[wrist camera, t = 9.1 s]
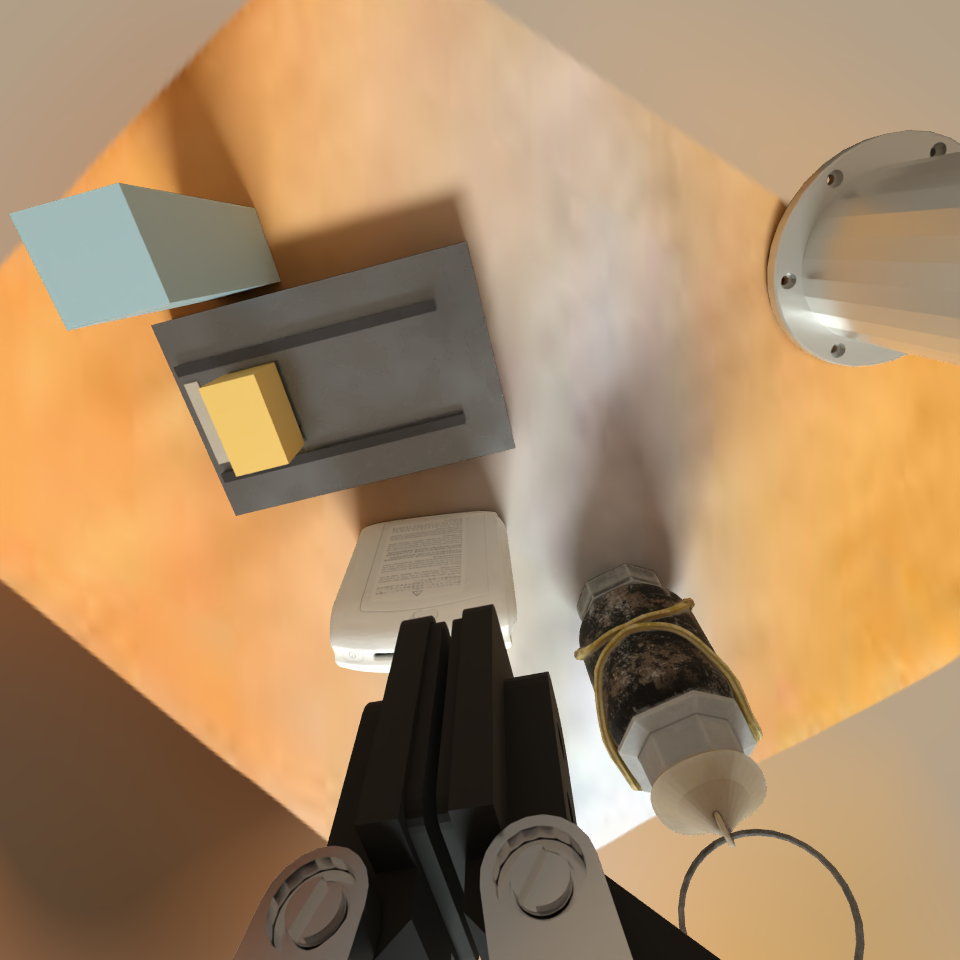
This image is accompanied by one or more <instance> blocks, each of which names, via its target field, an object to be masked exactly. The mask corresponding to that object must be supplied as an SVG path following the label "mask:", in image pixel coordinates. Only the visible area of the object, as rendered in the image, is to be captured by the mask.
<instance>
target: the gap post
mask: <svg viewBox="0 0 960 960" xmlns="http://www.w3.org/2000/svg"><path fill="white" fill-rule="evenodd" d="M9 215H10V217H11V219H12V221H13V223H14V225H15V227H16V229H17V231H18V233H19V235H20V237H21V239H22V241H23V243H24V245H25V247H26V249H27V251H28V253H29V255H30V257H31V259H32V261H33V263H34V265H35V267H36V269H37V271H38V273H39V275H40V277H41V279H42V281H43V283H44V285H45V287H46V289H47V291H48V293H49V295H50V297H51V299H52V301H53V303H54V305H55V307H56V309H57V311H58V313H59V315H60V317H61V319H62V321H63V323H64V325H65V327H66V329H67V331H68V330H73V329H77V328H82V327H87V326H91V325H96V324H101V323H106V322H110V321H115V320H120V319H124V318H129V317H134V316H138V315H143V314H148V313H152V312H157V311H162V310H166V309H171V308H176V307H180V306H185V305H190V304H194V303H199V302H204V301H208V300H213V299H218V298H221V297H225V296H229V295H232V294H236V293H240V292H244V291H247V290H251V289H255V288H259V287H262V286H266V285H270V284H274V283H277V282H281V280H280V277H279V274H278V271H277V269H276V266H275V263H274V260H273V257H272V255H271V252H270V249H269V246H268V243H267V240H266V238H265V235H264V232H263V229H262V226H261V224H260V221H259V218H258V215H257V212H256V209H255V208H252V207H246V206H241V205H236V204H230V203H225V202H219V201H214V200H209V199H203V198H198V197H192V196H187V195H181V194H176V193H171V192H165V191H160V190H154V189H149V188H144V187H138V186H133V185H127V184H122V183H116V184H113V185H109V186H106V187H102V188H99V189H95V190H92V191H88V192H85V193H81V194H78V195H74V196H71V197H67V198H64V199H60V200H56V201H53V202H49V203H46V204H43V205H39V206H35V207H32V208H29V209H25V210H21V211H18V212H14V213H11V214H9Z"/></svg>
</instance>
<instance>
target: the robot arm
mask: <svg viewBox="0 0 960 960" xmlns="http://www.w3.org/2000/svg"><path fill="white" fill-rule="evenodd" d="M828 177H829V179H830V180H829V183H827V178H828ZM783 277H784V282H783V284H781V280H782V278H783ZM767 280H768V293H769V298H770V303H771V308H772V310H773V313H774V315H775V317H776V319H777V322H778V324H779V326H780V327H781V329H782V330H783V331H784V333H785V334H786V335H787V337H788V338H789V339H790V340H791V341H792V342H793V343H794V344H795V345H797V346H798V347H799V348H800V349H801V350H802V351H804V352H806V353H808V354H810V355H812V356H814V357H816V358H818V359H820V360H823V361H826V362H829V363H833V364H837V365H844V366H851V367H859V366H874V365H878V364H882V363H886V362H890V361H894V360H896V359H899V358H901V357H903V356H906V355H908V354H911V355H915V356H920V357H924V358H928V359H932V360H936V361H940V362H945V363H949V364H953V365H957V366H960V144H959V143H958V142H956V141H954V140H953V139H951V138H949V137H946V136H943V135H940V134H936V133H933V132H928V131H912V130H907V131H901V132H894V133H889V134H884V135H880V136H877V137H873V138H870V139H867V140H864V141H862V142H860V143H857V144H855V145H853V146H851V147H849V148H847V149H845V150H843V151H841V152H840V153H839V154H837V155H836V156H834V157H833V158H832V159H830V160H829V161H827V162H826V163H825V164H823V165H822V166H821V167H820V168H819V169H818V170H817V171H816V172H815V173H814V174H813V175H812V176H811V177H810V178H809V179H808V180H807V181H806V182H805V183H804V184H803V186H802V187H801V188H800V190H799V191H798V192H797V194H796V195H795V196H794V198H793V199H792V200H791V202H790V203H789V205H788V207H787V209H786V211H785V213H784V215H783V216H782V218H781V220H780V222H779V224H778V227H777V230H776V233H775V236H774V239H773V242H772V245H771V249H770V255H769V261H768V267H767ZM832 347H833V349H832ZM831 349H832V350H831ZM479 955H480V957H481V960H720V959H719V958H718V957H716V956H715V955H714V954H712V953H711V952H709V951H708V950H707V949H705V948H704V947H703V946H701V945H700V944H699V943H697V942H696V941H694V940H693V939H692V938H690V937H689V936H688V935H686V934H685V933H684V932H682V931H681V930H680V929H678V928H677V927H675V926H674V925H673V924H671V923H670V922H669V921H667V920H666V919H665V918H663V917H662V916H660V915H659V914H658V913H656V912H655V911H654V910H652V909H651V908H650V907H648V906H647V905H646V904H644V903H643V902H641V901H640V900H638V899H637V898H636V897H635V896H633V895H632V894H631V893H629V892H628V891H626V890H625V889H624V888H622V887H621V886H620V885H618V884H617V883H616V882H614V881H613V880H612V879H610V878H609V877H607V876H606V875H605V874H604V872H603V869H602V866H601V863H600V860H599V857H598V854H597V852H596V850H595V848H594V846H593V844H592V842H591V840H590V839H589V837H588V836H587V835H586V834H585V833H584V832H583V831H582V830H581V829H580V828H579V827H578V826H577V823H576V816H575V809H574V803H573V796H572V789H571V783H570V776H569V769H568V762H567V756H566V750H565V744H564V738H563V733H562V727H561V722H560V717H559V713H558V708H557V704H556V699H555V695H554V691H553V687H552V682H551V678H550V675H549V672H543V673H537V674H532V675H526V676H520V677H513V673H512V669H511V665H510V662H509V658H508V654H507V650H506V646H505V643H504V639H503V635H502V631H501V627H500V624H499V620H498V616H497V612H496V609H495V607H494V605H493V604H490V605H484V606H479V607H474V608H468V609H464V610H463V612H462V618H459V619H454V620H453V622H452V631H451V636H450V632H449V629H448V626H447V624H446V622H445V621H443V622H438V623H436V620H435V618H434V617H433V616H432V615H431V616H426V617H420V618H415V619H410V620H404V621H402V622H401V625H400V628H399V633H398V637H397V641H396V646H395V650H394V654H393V659H392V663H391V667H390V672H389V676H388V680H387V685H386V689H385V693H384V698H383V700H382V701H376V702H371V703H368V704H367V705H366V706H365V708H364V711H363V714H362V717H361V721H360V725H359V728H358V732H357V736H356V740H355V743H354V747H353V751H352V755H351V758H350V762H349V766H348V770H347V773H346V777H345V781H344V785H343V788H342V792H341V796H340V799H339V803H338V807H337V811H336V814H335V818H334V822H333V826H332V829H331V833H330V837H329V841H328V844H327V847H323V848H317V849H315V850H313V851H310V852H308V853H306V854H304V855H302V856H300V857H299V858H298V859H296V860H295V861H294V862H292V863H291V864H289V865H288V866H287V867H285V869H284V870H283V871H282V872H281V873H280V874H279V875H278V876H277V877H276V878H275V879H274V881H273V882H272V883H271V884H270V886H269V888H268V889H267V891H266V893H265V894H264V896H263V898H262V899H261V901H260V904H259V905H258V907H257V909H256V912H255V914H254V916H253V918H252V920H251V922H250V924H249V926H248V929H247V931H246V933H245V935H244V937H243V940H242V941H241V943H240V945H239V948H238V950H237V952H236V954H235V956H234V958H233V960H478V959H479Z"/></svg>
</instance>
